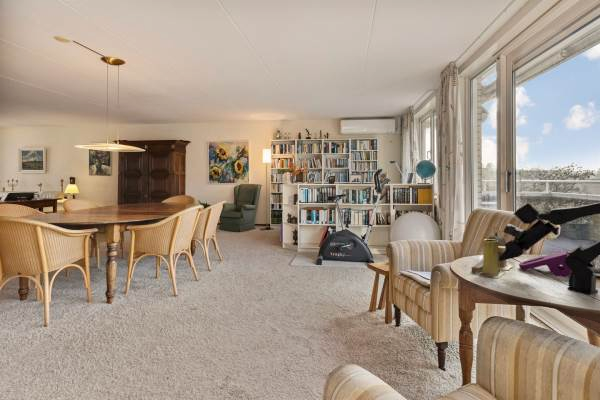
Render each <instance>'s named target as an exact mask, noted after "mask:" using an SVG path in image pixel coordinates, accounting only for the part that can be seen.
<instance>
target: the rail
mask: <svg viewBox="0 0 600 400" xmlns="http://www.w3.org/2000/svg"><path fill="white" fill-rule="evenodd" d="M505 250H506V247H505V246H498V268H499V275H496V276H494V274H489V273H483V272H482V269H483V259H482V260H481V261H479V262H477V263H476V264H474V265H473V266H471V273H472V274H475V275H477V276H479V277H482V278H488V279H500V278H501V277H502V276H504V275H505V272H501V270H502V271H506V270H508V271H510V270H511V269H512V268H514V265H510V264H509V265H508V264H507V260H502V261H500V260H499V258H500V256H501V255H502V254H503V253H504V251H505ZM511 267H512V268H511ZM510 268H511V269H510ZM509 269H510V270H509Z"/></svg>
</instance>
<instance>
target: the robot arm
mask: <svg viewBox="0 0 600 400" xmlns="http://www.w3.org/2000/svg"><path fill="white" fill-rule="evenodd" d="M513 215H514V216H515V217H516V218H518V220H519V221H521V222H522V223H523V224H524V225H531V224H532V225H531V226H530V227H528V228H526V229H521V228H520V227H517V226H515V225H514V224H511V223H508V224H506V226H505V227H504V228H503V233H505V234H507V235H509V236H512V237H513V239H510V240H508V242H507V241H506V244H505V247H506V250H505V251H504V253H503V254H502V255H501V256H500V258H499V260H500V261H502V260H506V261H507V260H510V259H514V258H520V257H521V256H522V255H523V254H525V252H526V251H528V250H529V249H531V248H533V247H534V245H536V244H538V243H539V242H540V241H542V240H543V239H544V238H545V237H547V236H548V235H549V234H551V233H553V234H554V236H557V235H559V234H560V232H559V230H560V227H559V226H561V225H564V224H568V223H569V222H572V221H574V220H577V219H580V218H585V217H589V216H594V215H600V202H594V203H591V204H586V205H580V206H571V207H569V206H568V207H558V208H554V209H551V210H550V211H541V212H540V211H539V210H538V209H536V207H534V206H533V205H532V203H530V202H528V203H526V204H524V205H523V206H521V207H519V208H518V209H516V210H515V211H514V213H513ZM535 221H536V222H535ZM599 256H600V240H599V241H597V242H594V243H593V244H591V245H589V246H584V247H583V245H581V244H580V245H578V246H577V247H575V248H574V249H570V250H569V251H568V256H567V257H566V258H565V264H566V265H567V267H569V268H570V269H571V270H572V272H571V273H570V275H569V276H568V286H567V290H570V291H574V292H578V293H581V294H582V293H583V294H586V295H591V294H595V293H597V292H599V289H596V288H597V286H596V285H597V274H594V272H595V269H596V266H595V265H594V264H592V262H593V261H594V260H595V259H597V258H598V257H599Z"/></svg>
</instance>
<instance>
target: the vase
mask: <svg viewBox="0 0 600 400" xmlns="http://www.w3.org/2000/svg"><path fill="white" fill-rule="evenodd" d="M482 260H483V269H482V272H483V273H489V274H494V276H496V275H499V268H498V240H494V239H488V238H486V239H483V256H482Z"/></svg>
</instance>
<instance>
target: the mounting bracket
mask: <svg viewBox="0 0 600 400" xmlns="http://www.w3.org/2000/svg"><path fill="white" fill-rule="evenodd" d="M568 253H569V251H568V250H567V249H565V250H561V251H557V252H552V253H549V254H545V255H542V256H538V257H535V258H530V259H527V260H524V261H522V262H520V263H518V266H519V268H520V270H521V269H522V270H521V271H526V270H530V269H534V268H539V267H543V266H547V268H548V270H549V271H550V273H551V274H553V275H554V276H555V277H561V278H567V277H569V275H570V273H571V272H572V270H571V269H570V268H569V267H567V265H566V264H565V258H566V257H567V256H568Z"/></svg>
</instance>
